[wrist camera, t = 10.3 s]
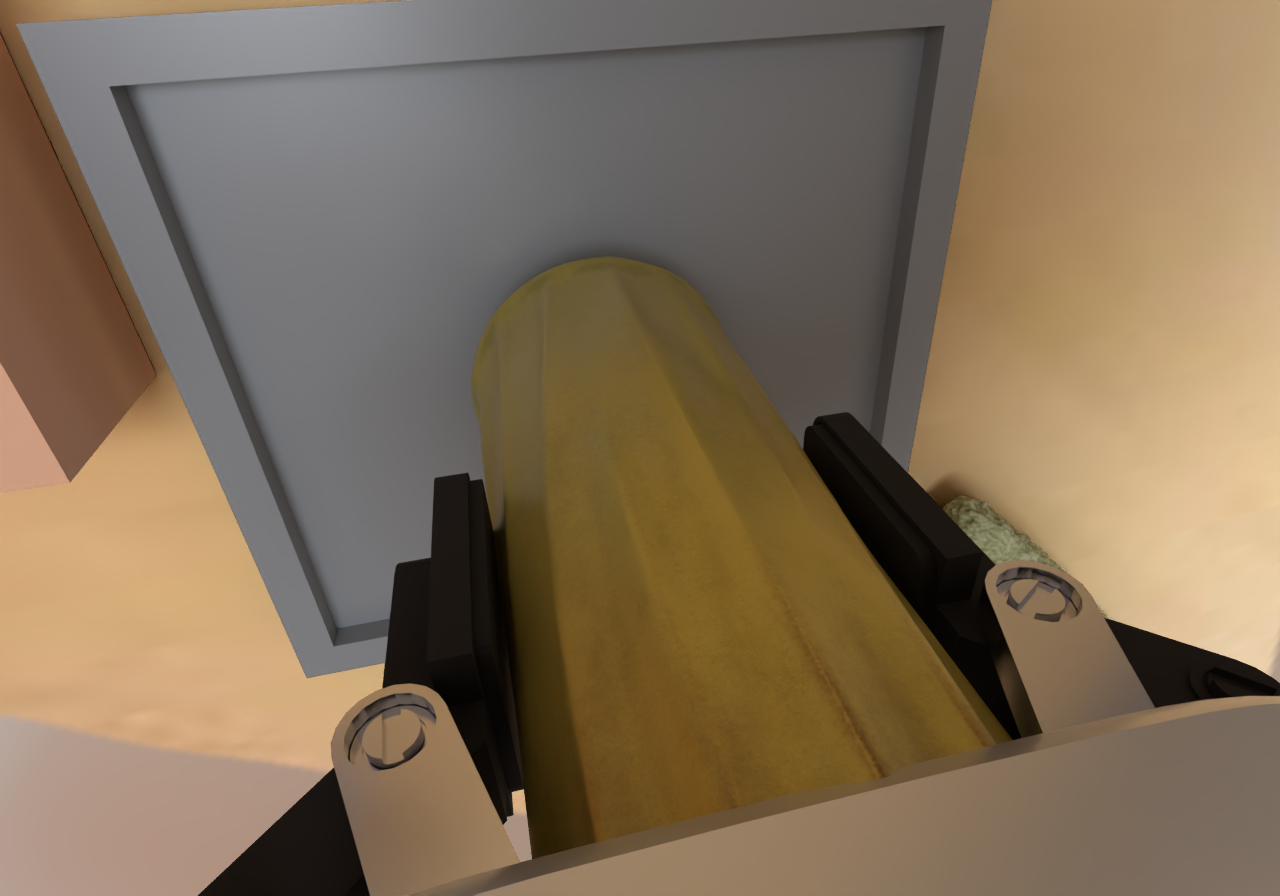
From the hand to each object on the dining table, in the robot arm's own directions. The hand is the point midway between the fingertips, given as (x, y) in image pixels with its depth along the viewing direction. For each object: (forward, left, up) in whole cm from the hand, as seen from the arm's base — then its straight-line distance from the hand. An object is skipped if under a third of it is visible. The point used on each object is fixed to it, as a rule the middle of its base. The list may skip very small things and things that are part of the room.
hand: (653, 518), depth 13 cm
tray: (0, 0, -7) cm, 7 cm away
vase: (0, 0, -6) cm, 6 cm away
